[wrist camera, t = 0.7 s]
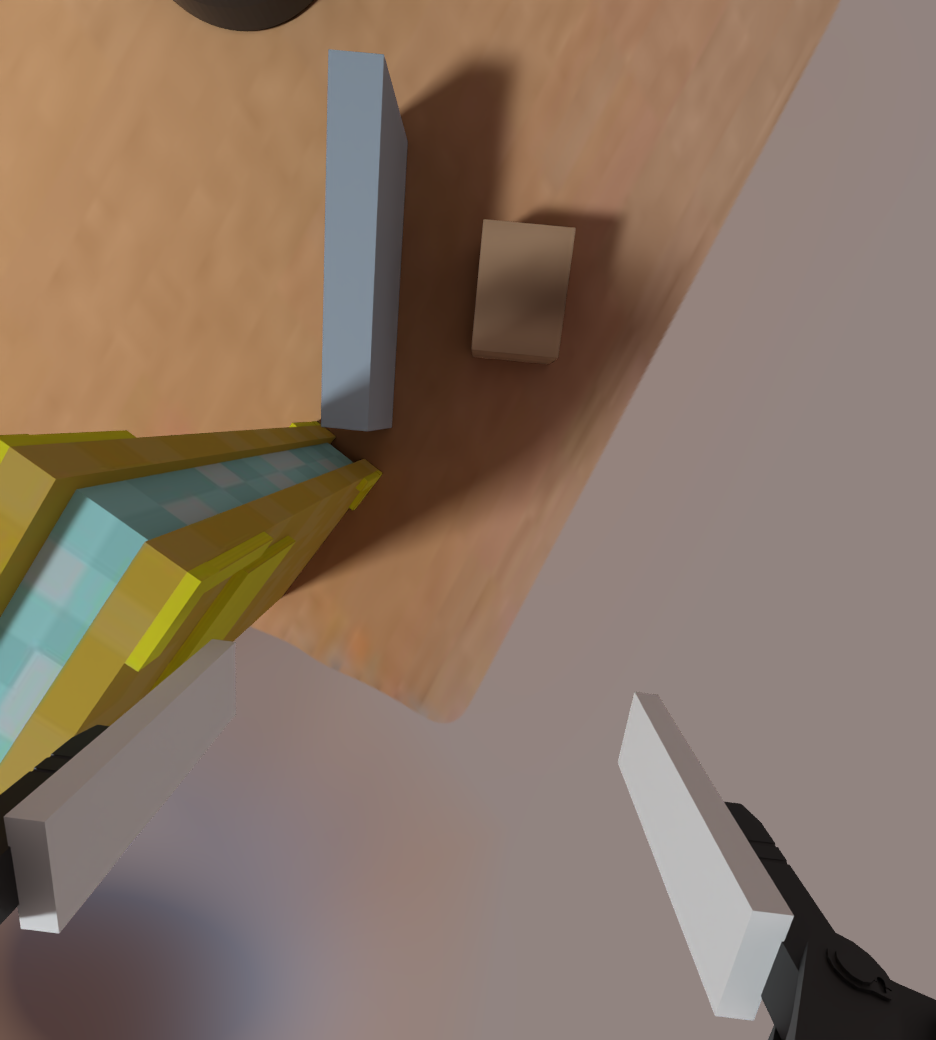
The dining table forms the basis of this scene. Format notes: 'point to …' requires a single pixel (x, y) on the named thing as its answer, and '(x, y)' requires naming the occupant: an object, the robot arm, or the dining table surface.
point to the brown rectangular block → (521, 291)
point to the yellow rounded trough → (145, 561)
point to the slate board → (361, 242)
